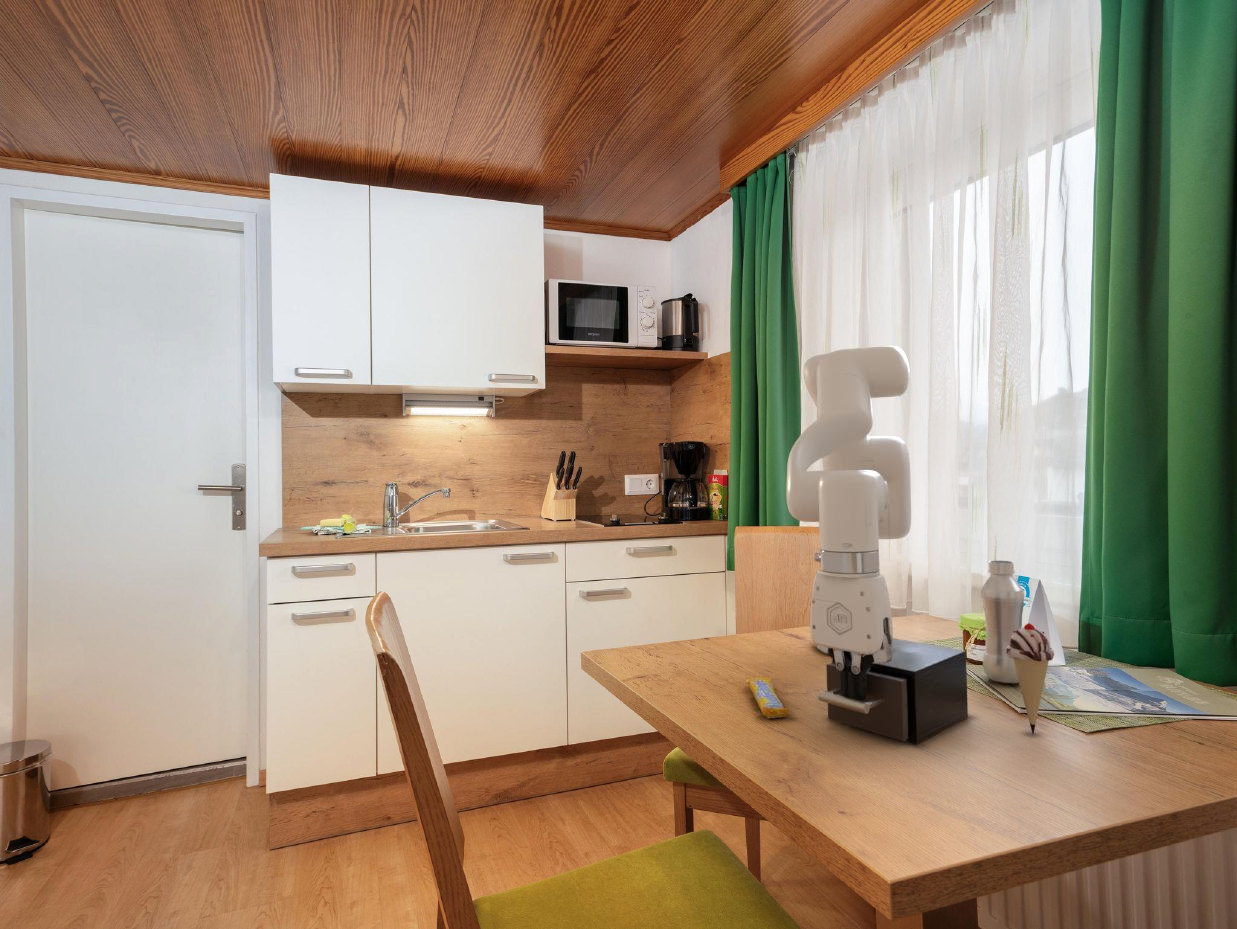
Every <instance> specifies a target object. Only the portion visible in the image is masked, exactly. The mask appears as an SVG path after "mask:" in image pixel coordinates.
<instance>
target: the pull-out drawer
mask: <svg viewBox="0 0 1237 929" xmlns="http://www.w3.org/2000/svg"><path fill="white" fill-rule="evenodd" d="M825 665H826V691H825V690H820V691H819V692H818V694H817V698H818V701H820V702H822V703H825V704H827V719H828V720H831V721H835V722H837V723H841V724H845V725H848V726H851V727H854V728H857V729H861V730H864V731H868V732H871V733H874V734H878V735H881V736H884V737H888V738H891V739H895V740H899V741H902V742H906V741H905V740H907V739H908V732H910V731H911V709H910V680H909V677H910V676H905V675H900V674H896V673H891V672H887V671H882V670H878V669H873V668H870V670H868V671H867V695H866V699H865V700H863V701H860V700H856V699H852V698H848V697H844V696H842V691H841V678H840V671H839V670H838V669H837V668H836V664H834V663H832V662H829V663H827V664H825Z"/></svg>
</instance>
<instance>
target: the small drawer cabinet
mask: <svg viewBox="0 0 1237 929" xmlns="http://www.w3.org/2000/svg"><path fill="white" fill-rule="evenodd" d="M890 651H891V655H892V660H891V661H889V662H886V663H876V664H874V665H873V666H872V667H871V668H873V669H878V670H882V671H887V672H891V673H896V674H900V675H905V676H910V677H909V680H910V709H911V731H910V732H908V739H907V740H905V741H904V742H907V743H909V744H910V743H911V744H914V745H919V744H921V743H922V742H925V741H927V740H928V739H930V738H932V737H934V736H936V735H938V734H940V733H941V732H943V731H945V730H947V729H949V728H951V727H952V726H954V725H956V724H958V723H960V722H963V720H966V719H967V718H969V713H968V712H969V705H968V679H967V678H968V676H967V673H968V672H967V651H966V650H962V649H955V648H950V647H945V646H941V645H940V646H939V645H934V644H928V643H923V642H917V641H911V640H907V639H899V638H895V637H893V642H892V646H891V647H890ZM876 652H877V651H876ZM876 652H875V653H876ZM831 663H834V664H835V662H834V660H833V659H831Z"/></svg>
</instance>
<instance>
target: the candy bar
mask: <svg viewBox="0 0 1237 929" xmlns="http://www.w3.org/2000/svg"><path fill="white" fill-rule="evenodd" d="M772 681H773V680H772V678H771V677H769V676H755V677H747V678H745V682H746V684H747V685H748V687H749V689H750V691H751V693H752V695H753V697H754V699H755V701H756V704H757V705H758V707H759V709H760V711H761V713H762V715H763V716H764V717H765V718H767V720H768V719H776V718H777V719H778V718H785V717H787V716H788V715H789V714H790V711H789V708H788V707H784V705H783V703H782V702H781V700H780V698H779V697H778V695H777V693H776V691H775V689H774V687H773V685H772V684H771V683H772Z"/></svg>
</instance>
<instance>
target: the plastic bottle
mask: <svg viewBox="0 0 1237 929" xmlns="http://www.w3.org/2000/svg"><path fill="white" fill-rule="evenodd" d="M988 573H989V574H990V576H989V577H988V579H987V580H985V582H984V584H983V586H981V587H982V588H981V591H980V597H981V602H982V608H983V613H984V623H985V642H984V645H985V647H984V653H983V658H982V659H983V660H982V667H983V671H984V674H985V676H986V677H987V678H988V679H989V680H991V681H994V682H999V683H1004V684H1019V681H1018V677H1017V673H1016V670H1015V666H1014V662H1013V658H1009V657H1008V656H1007V653H1006V647H1007V646H1008V645H1010V640H1011V637H1012V635H1013V634H1014V633H1013V631H1017V630H1019V629H1020V628H1022V626H1023V612H1024V604H1025V603H1024V601H1025V592H1024V590H1023V588H1022V586H1021V585H1020V583H1019V582H1018V581H1017V580H1016V579H1015V577H1014V576H1013V575H1014V574H1015V569H1014V562H1013V561H1010V560H989V561H988Z"/></svg>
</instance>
